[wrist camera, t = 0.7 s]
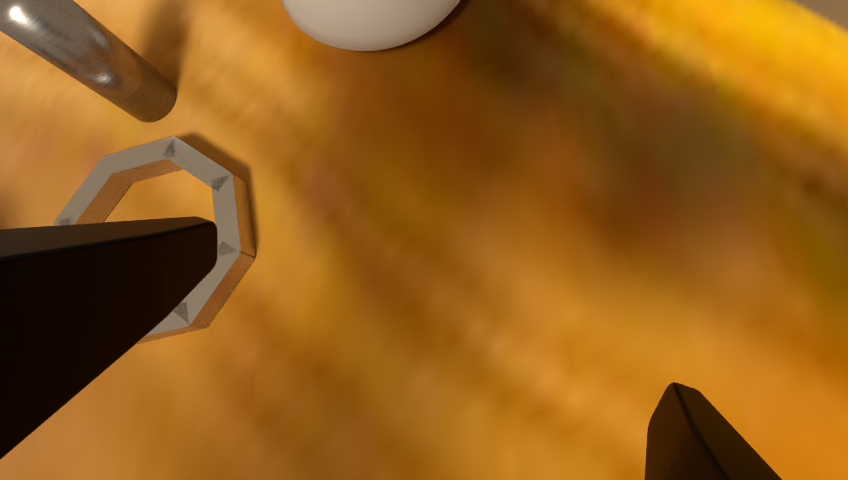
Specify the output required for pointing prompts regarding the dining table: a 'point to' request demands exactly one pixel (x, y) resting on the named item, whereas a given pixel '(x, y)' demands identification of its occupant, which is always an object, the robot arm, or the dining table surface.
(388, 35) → the flower in vase
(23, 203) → the dining table surface
